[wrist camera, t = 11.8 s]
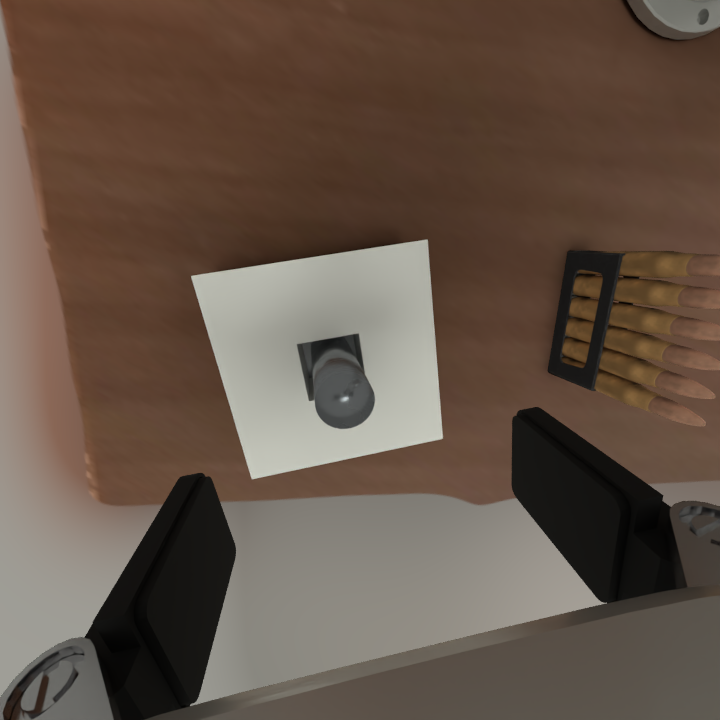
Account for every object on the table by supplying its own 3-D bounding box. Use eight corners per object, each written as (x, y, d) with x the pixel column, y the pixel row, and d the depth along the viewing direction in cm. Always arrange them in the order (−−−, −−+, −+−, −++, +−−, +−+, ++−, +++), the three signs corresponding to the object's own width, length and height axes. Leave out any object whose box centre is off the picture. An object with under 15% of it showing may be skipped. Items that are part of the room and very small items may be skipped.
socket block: (216, 271, 24) (190, 276, 19) (403, 243, 25) (427, 239, 20) (262, 438, 28) (251, 479, 23) (419, 406, 30) (442, 438, 24)
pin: (307, 334, 25) (309, 380, 16) (345, 327, 26) (370, 367, 16) (314, 371, 26) (321, 434, 17) (351, 363, 27) (378, 422, 17)
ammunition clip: (565, 371, 31) (713, 438, 20) (547, 372, 31) (686, 440, 19) (587, 250, 28) (781, 246, 16) (567, 250, 27) (749, 246, 16)
